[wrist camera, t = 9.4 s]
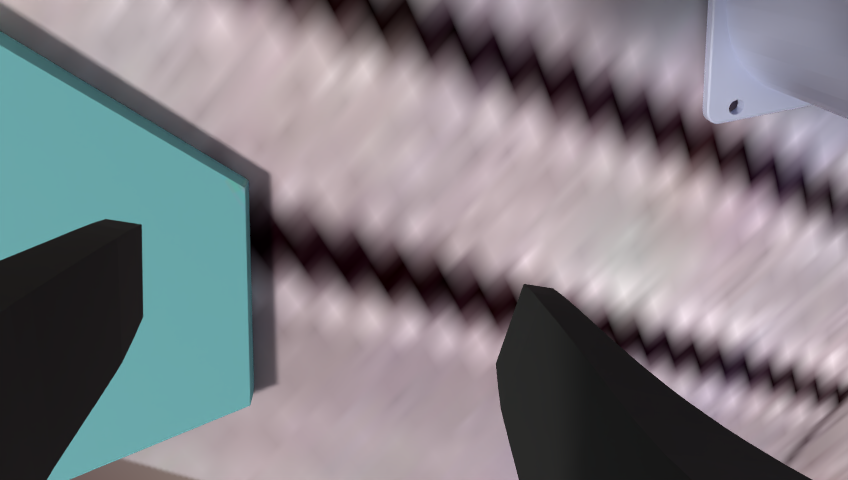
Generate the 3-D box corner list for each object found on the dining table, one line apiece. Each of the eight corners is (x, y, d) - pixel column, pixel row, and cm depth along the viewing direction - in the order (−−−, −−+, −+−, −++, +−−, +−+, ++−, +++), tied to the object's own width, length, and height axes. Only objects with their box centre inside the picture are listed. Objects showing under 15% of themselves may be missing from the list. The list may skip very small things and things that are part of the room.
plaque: (111, -70, 18) (-391, 181, 20) (83, -73, 16) (-468, 204, 18) (355, 339, 25) (-21, 490, 27) (355, 368, 24) (-48, 528, 26)
